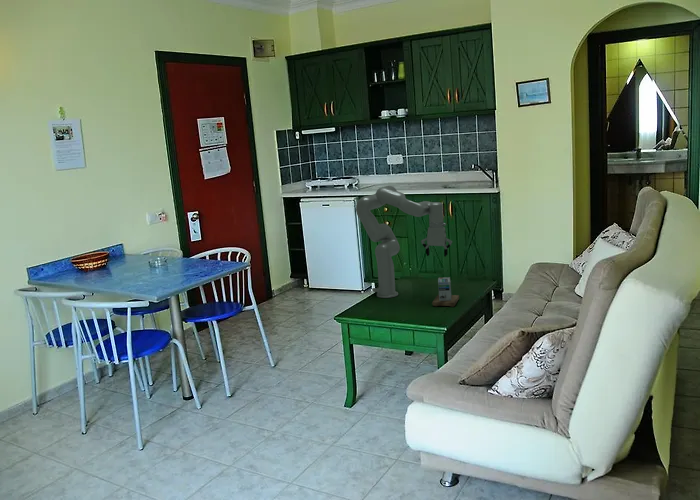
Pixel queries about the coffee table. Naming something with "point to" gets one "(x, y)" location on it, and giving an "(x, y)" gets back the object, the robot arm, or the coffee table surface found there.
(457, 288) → the coffee table surface
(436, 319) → the coffee table surface
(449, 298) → the light bulb box
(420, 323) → the coffee table surface
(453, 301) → the walnut stand
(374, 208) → the robot arm
